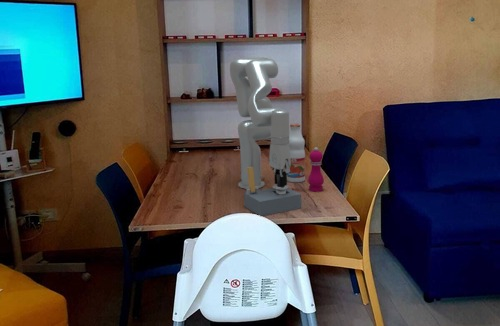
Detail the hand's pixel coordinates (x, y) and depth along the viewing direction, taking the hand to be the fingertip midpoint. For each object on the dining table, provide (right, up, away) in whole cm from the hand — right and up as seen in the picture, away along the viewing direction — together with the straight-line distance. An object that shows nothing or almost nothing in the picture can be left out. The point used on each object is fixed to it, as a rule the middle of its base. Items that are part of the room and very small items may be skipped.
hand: (280, 184), depth 199 cm
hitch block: (-3, -10, +1) cm, 10 cm away
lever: (-12, +2, -2) cm, 12 cm away
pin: (0, -7, +2) cm, 8 cm away
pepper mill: (+18, -4, +23) cm, 30 cm away
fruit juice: (+10, 0, +40) cm, 42 cm away
